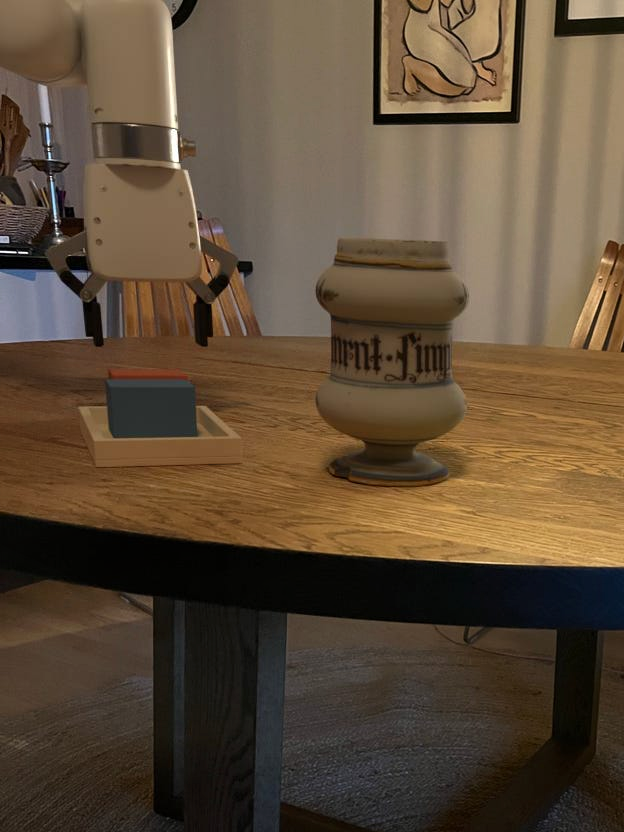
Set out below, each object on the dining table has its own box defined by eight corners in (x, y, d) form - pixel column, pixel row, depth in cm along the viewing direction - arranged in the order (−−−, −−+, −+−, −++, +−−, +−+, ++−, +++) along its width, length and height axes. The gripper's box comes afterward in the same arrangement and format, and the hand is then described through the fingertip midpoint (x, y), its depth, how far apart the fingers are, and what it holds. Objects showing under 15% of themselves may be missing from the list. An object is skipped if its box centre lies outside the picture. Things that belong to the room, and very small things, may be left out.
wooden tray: (79, 429, 94) (77, 406, 94) (206, 427, 99) (205, 405, 98) (95, 467, 80) (93, 440, 80) (242, 463, 85) (241, 437, 84)
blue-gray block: (113, 439, 88) (110, 386, 87) (108, 429, 92) (104, 379, 90) (197, 437, 91) (195, 386, 89) (188, 428, 95) (186, 379, 93)
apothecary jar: (284, 468, 84) (281, 231, 77) (390, 452, 92) (395, 238, 86) (388, 497, 77) (395, 238, 70) (492, 477, 85) (507, 245, 79)
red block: (115, 422, 99) (112, 375, 97) (111, 414, 103) (107, 368, 101) (190, 421, 102) (188, 375, 100) (183, 413, 106) (181, 369, 104)
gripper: (225, 159, 100) (233, 341, 106) (32, 146, 93) (53, 341, 100) (240, 155, 94) (248, 349, 100) (35, 140, 87) (57, 349, 93)
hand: (151, 345), depth 100 cm, fingers open, 9 cm apart
